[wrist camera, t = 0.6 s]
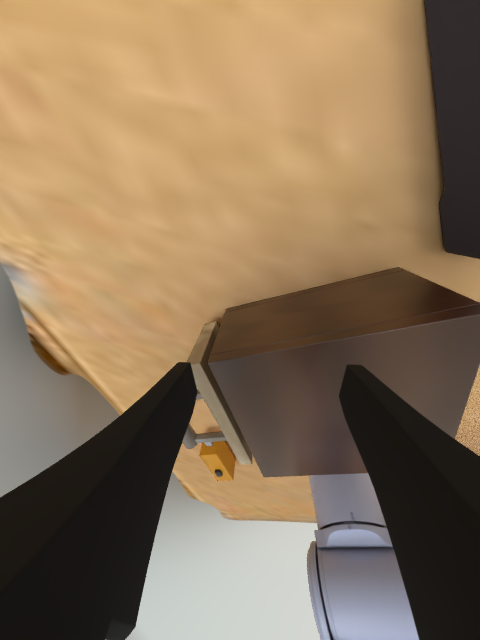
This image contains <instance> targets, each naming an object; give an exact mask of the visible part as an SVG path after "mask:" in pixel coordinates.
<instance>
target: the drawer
mask: <svg viewBox="0 0 480 640" xmlns="http://www.w3.org/2000/svg"><path fill="white" fill-rule="evenodd" d="M218 331H219V327H218V324H217V322H216V321H215V322H211V323H207V324H205V325H204V327H203V329H202V331H201V333H200V335H199V337H198V340H197V342H196V344H195V346H194V348H193V350H192V352H191V354H190V356H189V358H188V360H187V362H190V363H191V367H192V371H193V375H194V379H195V383H196V387H197V388H198V389H197V391H198V392H197V397H196V400H197V399H204V401H205V402H206V404H207V406H208V408H209V409H210V411H211V413H212V415H213V417H214V418H215V420H216V422H217V424H218V425H219V427H220V429H221V431H222V432H215V433H204V434H196V433H195V431H194V430H193V428H192V427H191V425H190V424H189V425H188V428H187V430H186V433H185V436H184V439H183V441H182V442H183V444H184V445H185V446H186V448H188V449H192V448H194V447H195V446H196V445H197V443H205V442H217V441H228V443H229V445H230V446H231V448H232V450H233V452H234V454H235V455H236V457H237V459H238V461H239V462H240V464H252V452H251V450H250V448H249V446H248V444H247V442H246V440H245V438H244V436H243V434H242V432H241V430H240V428H239V426H238V424H237V422H236V420H235V418H234V416H233V414H232V412H231V410H230V408H229V406H228V404H227V402H226V400H225V398H224V396H223V394H222V392H221V389H220V387H219V385H218V383H217V381H216V379H215V377H214V375H213V373H212V371H211V369H210V367H209V365H208V360H209V357H210V354H211V351H212V348H213V345H214V342H215V339H216V337H217V334H218Z"/></svg>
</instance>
